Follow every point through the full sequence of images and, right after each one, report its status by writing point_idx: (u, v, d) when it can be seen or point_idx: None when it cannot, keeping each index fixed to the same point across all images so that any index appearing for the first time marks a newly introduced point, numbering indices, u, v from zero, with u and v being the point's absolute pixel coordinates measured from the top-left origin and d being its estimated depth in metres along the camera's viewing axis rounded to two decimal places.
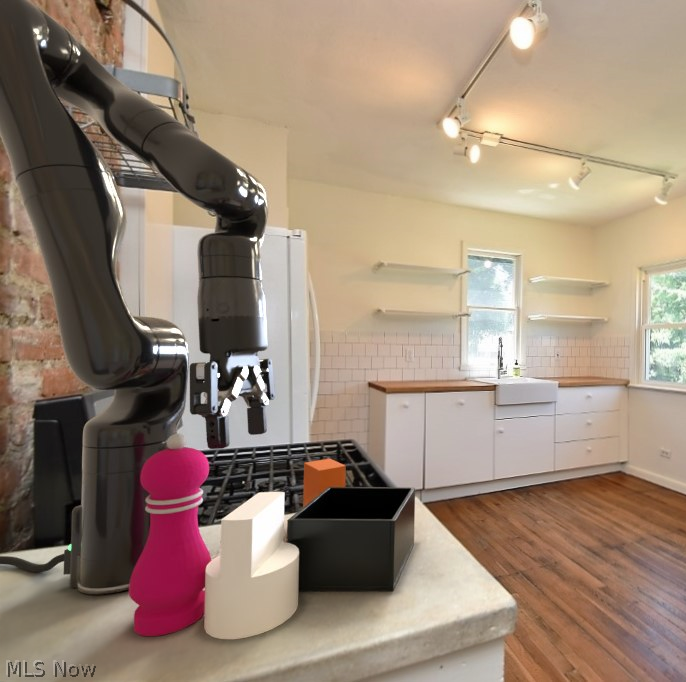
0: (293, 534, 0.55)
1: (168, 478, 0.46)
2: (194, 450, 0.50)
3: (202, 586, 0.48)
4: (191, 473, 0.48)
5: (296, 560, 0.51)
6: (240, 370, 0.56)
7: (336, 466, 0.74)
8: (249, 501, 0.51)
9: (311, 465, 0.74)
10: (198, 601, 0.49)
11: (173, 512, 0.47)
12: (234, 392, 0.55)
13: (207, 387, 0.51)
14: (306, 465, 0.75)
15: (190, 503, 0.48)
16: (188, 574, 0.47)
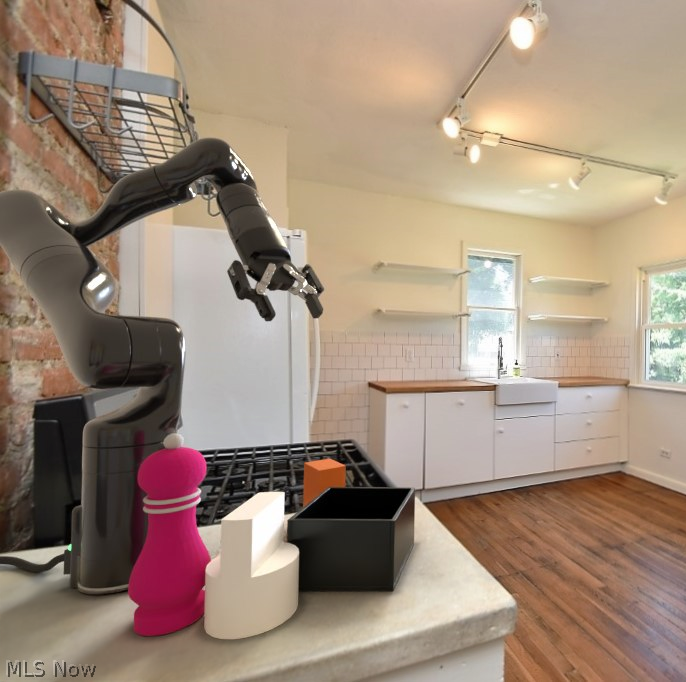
0: (293, 534, 0.55)
1: (165, 478, 0.46)
2: (191, 450, 0.50)
3: (202, 585, 0.48)
4: (189, 473, 0.48)
5: (296, 560, 0.51)
6: (267, 266, 0.73)
7: (336, 466, 0.74)
8: (249, 501, 0.51)
9: (311, 465, 0.74)
10: (198, 601, 0.49)
11: (171, 512, 0.47)
12: (264, 278, 0.72)
13: (237, 276, 0.69)
14: (306, 465, 0.75)
15: (188, 502, 0.48)
16: (187, 574, 0.47)
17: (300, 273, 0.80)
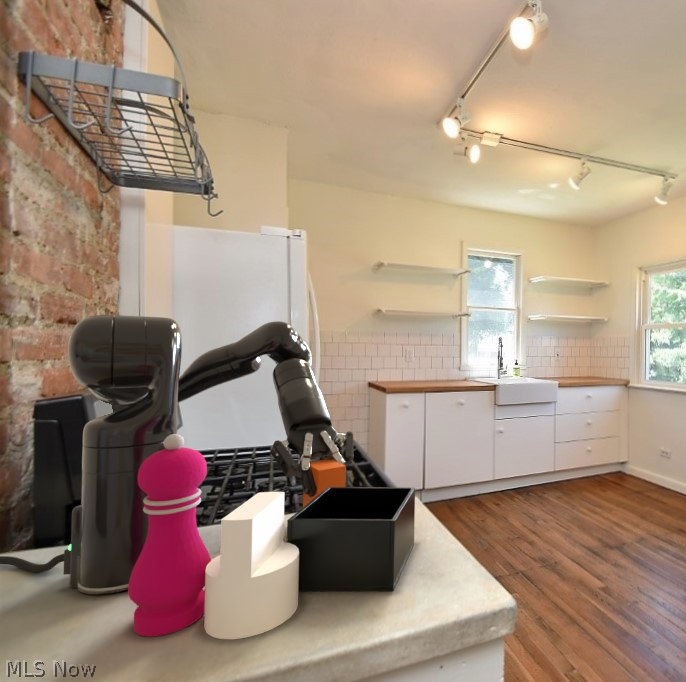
0: (293, 534, 0.55)
1: (166, 479, 0.46)
2: (192, 450, 0.49)
3: (202, 585, 0.48)
4: (190, 474, 0.47)
5: (296, 560, 0.51)
6: (304, 437, 0.76)
7: (336, 466, 0.74)
8: (249, 501, 0.51)
9: (311, 465, 0.74)
10: (198, 601, 0.49)
11: (172, 513, 0.47)
12: (306, 452, 0.74)
13: (281, 457, 0.73)
14: None
15: (189, 503, 0.48)
16: (188, 574, 0.47)
17: (339, 439, 0.81)
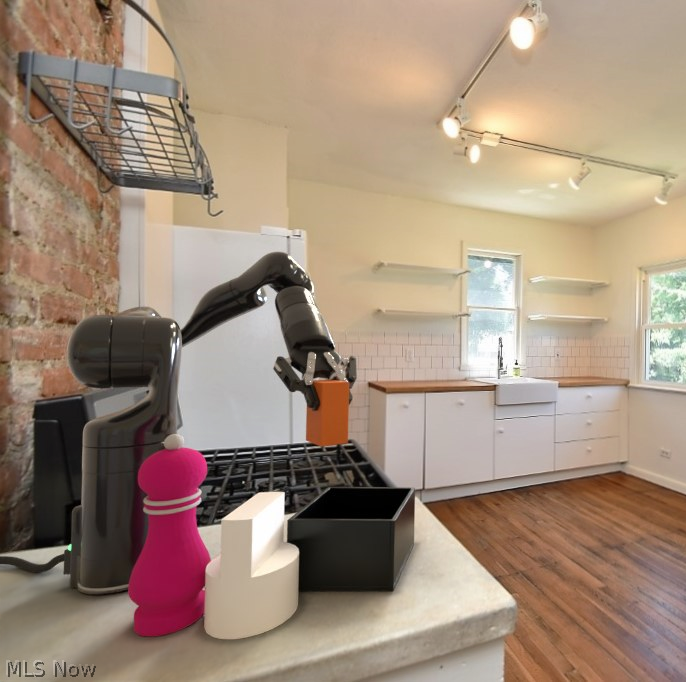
0: (293, 534, 0.55)
1: (167, 479, 0.46)
2: (192, 450, 0.49)
3: (203, 585, 0.49)
4: (191, 474, 0.47)
5: (296, 560, 0.51)
6: (307, 356, 0.76)
7: (339, 382, 0.73)
8: (249, 501, 0.51)
9: (314, 381, 0.74)
10: (199, 601, 0.49)
11: (172, 513, 0.47)
12: (309, 368, 0.74)
13: (284, 371, 0.72)
14: None
15: (189, 503, 0.48)
16: (189, 574, 0.47)
17: (342, 363, 0.81)
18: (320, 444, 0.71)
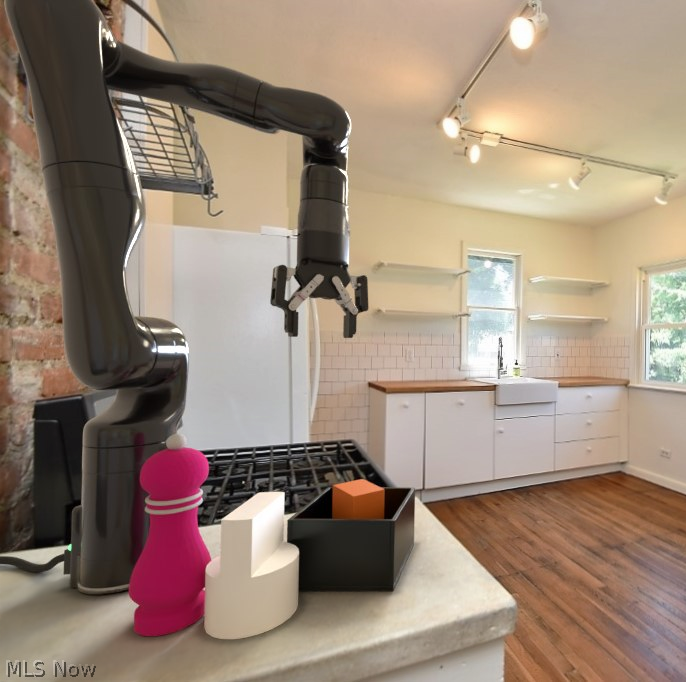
0: (293, 534, 0.55)
1: (170, 479, 0.46)
2: (194, 450, 0.49)
3: (204, 585, 0.49)
4: (194, 473, 0.48)
5: (296, 560, 0.51)
6: (314, 277, 0.68)
7: (373, 490, 0.60)
8: (249, 501, 0.51)
9: (342, 489, 0.60)
10: (200, 600, 0.49)
11: (175, 512, 0.47)
12: (304, 293, 0.67)
13: (276, 284, 0.65)
14: (336, 488, 0.61)
15: (192, 503, 0.48)
16: (191, 574, 0.47)
17: (352, 283, 0.74)
18: None
